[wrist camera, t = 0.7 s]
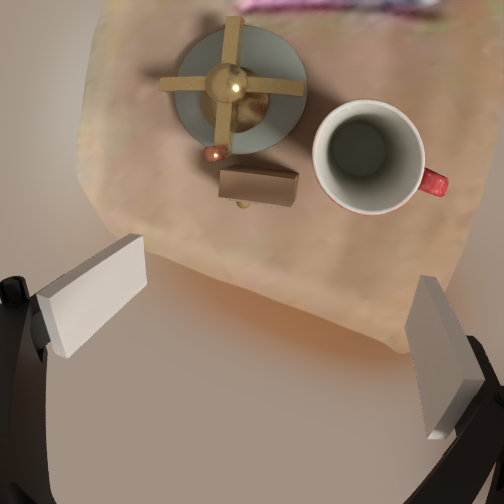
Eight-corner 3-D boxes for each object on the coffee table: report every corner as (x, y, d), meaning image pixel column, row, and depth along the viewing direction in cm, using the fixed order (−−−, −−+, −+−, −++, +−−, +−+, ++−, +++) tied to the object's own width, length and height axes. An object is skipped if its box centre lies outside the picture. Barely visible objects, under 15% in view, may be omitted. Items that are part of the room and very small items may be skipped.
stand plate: (185, 32, 34) (180, 29, 33) (312, 32, 31) (312, 29, 30) (175, 148, 40) (170, 149, 39) (300, 161, 37) (299, 162, 36)
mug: (308, 170, 37) (295, 190, 25) (333, 99, 33) (333, 81, 21) (404, 211, 36) (436, 250, 24) (431, 142, 32) (478, 150, 20)
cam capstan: (180, 29, 33) (153, 14, 26) (312, 29, 30) (307, 8, 23) (170, 151, 39) (141, 157, 32) (298, 164, 36) (291, 171, 29)
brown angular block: (233, 165, 39) (220, 169, 34) (299, 173, 37) (294, 179, 33) (231, 199, 41) (217, 208, 36) (294, 208, 39) (289, 218, 35)
